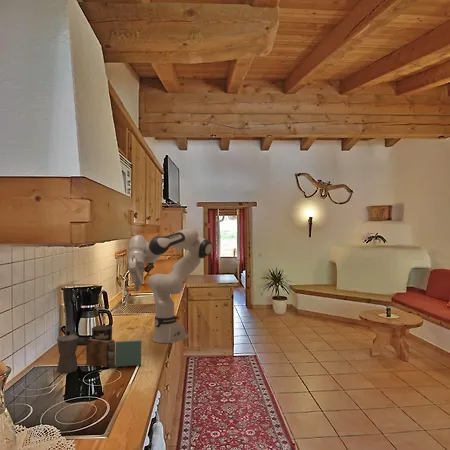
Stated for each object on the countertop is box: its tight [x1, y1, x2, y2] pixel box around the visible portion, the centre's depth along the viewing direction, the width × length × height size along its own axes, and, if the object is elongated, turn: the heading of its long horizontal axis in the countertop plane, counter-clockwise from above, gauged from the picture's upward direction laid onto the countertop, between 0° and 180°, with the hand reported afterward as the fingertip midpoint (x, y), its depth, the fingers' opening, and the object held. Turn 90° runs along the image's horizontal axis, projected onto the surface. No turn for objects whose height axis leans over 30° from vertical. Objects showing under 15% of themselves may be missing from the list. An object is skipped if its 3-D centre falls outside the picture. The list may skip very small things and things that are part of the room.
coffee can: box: [91, 324, 113, 341], centre depth 190 cm, size 10×10×14 cm
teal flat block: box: [108, 339, 142, 368], centre depth 174 cm, size 15×3×12 cm, turn 103°
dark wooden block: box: [85, 338, 116, 369], centre depth 175 cm, size 15×3×13 cm, turn 73°
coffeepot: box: [56, 330, 80, 375], centre depth 170 cm, size 15×9×18 cm, turn 171°
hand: (135, 286), depth 184 cm, fingers open, 8 cm apart
